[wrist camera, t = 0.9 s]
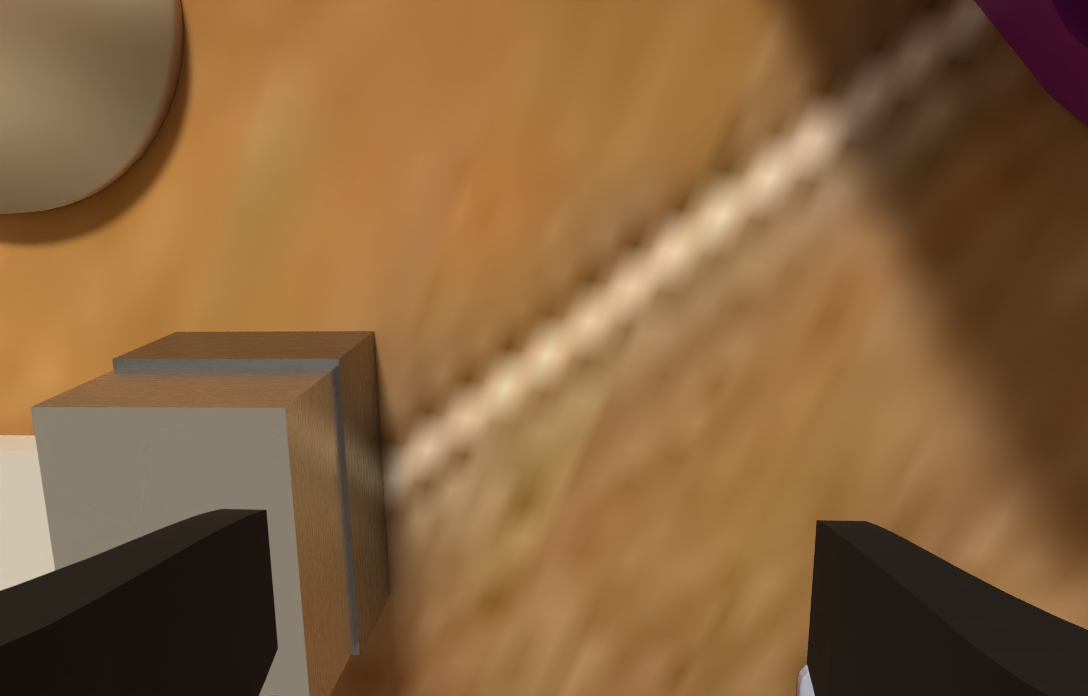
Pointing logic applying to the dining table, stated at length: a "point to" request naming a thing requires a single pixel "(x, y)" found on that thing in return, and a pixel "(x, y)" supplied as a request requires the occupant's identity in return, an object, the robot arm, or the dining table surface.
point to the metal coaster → (81, 94)
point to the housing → (237, 472)
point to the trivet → (22, 513)
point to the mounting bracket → (1048, 44)
